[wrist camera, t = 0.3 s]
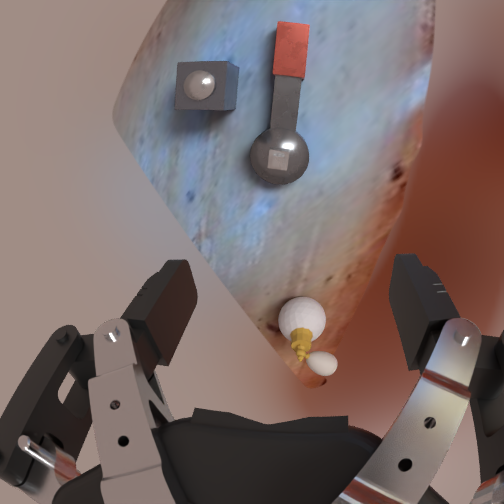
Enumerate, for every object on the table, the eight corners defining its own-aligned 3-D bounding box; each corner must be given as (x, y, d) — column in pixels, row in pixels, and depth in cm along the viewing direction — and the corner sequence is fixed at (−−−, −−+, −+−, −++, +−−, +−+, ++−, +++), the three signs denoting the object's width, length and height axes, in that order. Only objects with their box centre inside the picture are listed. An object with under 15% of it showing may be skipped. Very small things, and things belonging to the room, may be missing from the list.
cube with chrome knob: (196, 67, 29) (176, 62, 24) (239, 67, 29) (226, 60, 23) (193, 107, 32) (173, 109, 27) (235, 109, 32) (222, 110, 26)
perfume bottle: (284, 284, 44) (278, 341, 34) (343, 294, 43) (350, 351, 33) (276, 317, 48) (268, 373, 38) (330, 326, 47) (332, 382, 37)
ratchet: (265, 25, 25) (259, 13, 21) (322, 32, 25) (327, 20, 20) (251, 175, 36) (243, 187, 31) (304, 182, 35) (305, 196, 31)
